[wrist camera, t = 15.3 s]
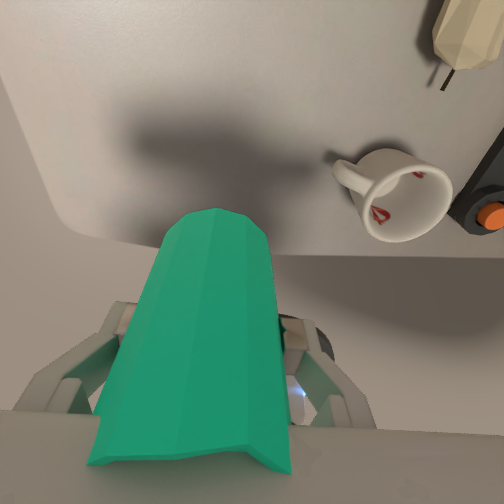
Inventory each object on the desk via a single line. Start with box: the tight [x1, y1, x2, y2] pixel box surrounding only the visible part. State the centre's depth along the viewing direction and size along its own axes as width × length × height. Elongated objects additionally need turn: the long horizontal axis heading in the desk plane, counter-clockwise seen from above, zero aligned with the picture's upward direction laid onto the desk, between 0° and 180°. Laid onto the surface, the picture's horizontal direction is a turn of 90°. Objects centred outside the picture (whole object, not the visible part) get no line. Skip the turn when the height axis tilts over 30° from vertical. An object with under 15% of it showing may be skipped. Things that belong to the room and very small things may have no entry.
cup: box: [332, 149, 453, 243], centre depth 29 cm, size 11×8×8 cm
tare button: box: [476, 202, 504, 230], centre depth 32 cm, size 3×3×2 cm
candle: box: [86, 208, 292, 475], centre depth 11 cm, size 6×6×12 cm
